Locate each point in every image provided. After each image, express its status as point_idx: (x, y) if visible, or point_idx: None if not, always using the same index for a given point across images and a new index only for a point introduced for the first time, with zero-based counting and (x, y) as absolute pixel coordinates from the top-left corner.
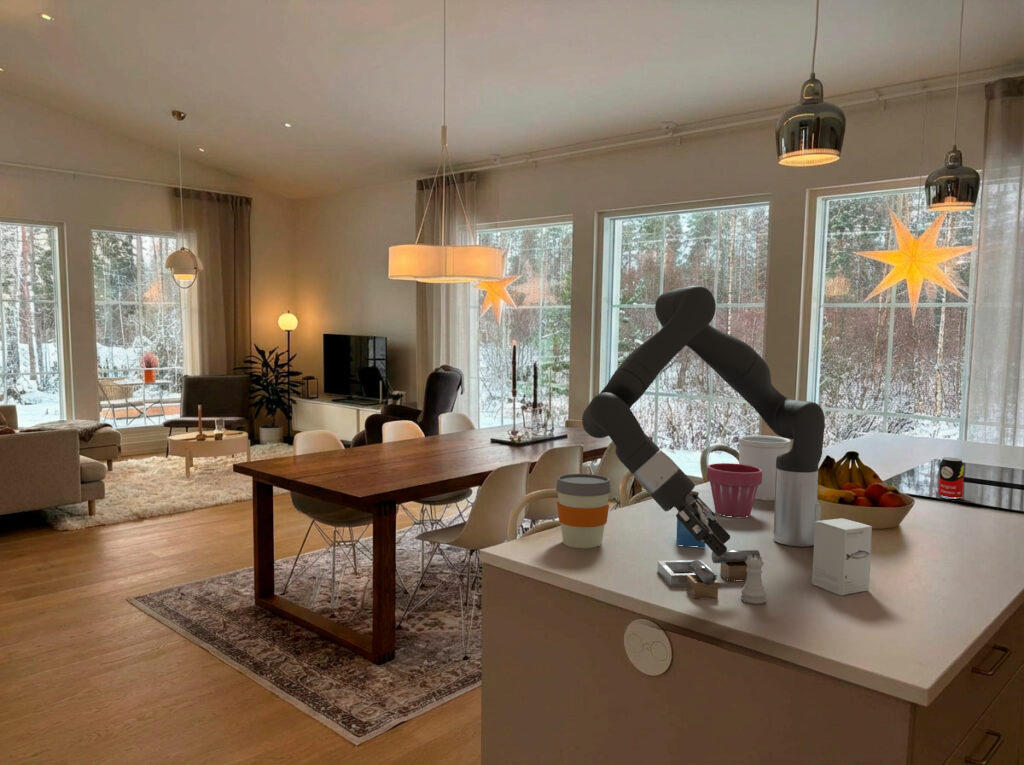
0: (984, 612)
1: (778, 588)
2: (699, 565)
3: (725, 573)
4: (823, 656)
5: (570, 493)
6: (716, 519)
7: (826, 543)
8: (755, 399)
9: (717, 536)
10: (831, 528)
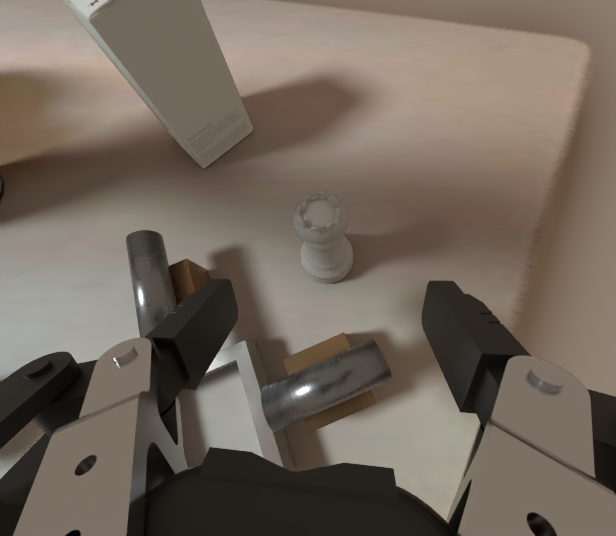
0: (268, 6)
1: (239, 219)
2: (319, 398)
3: None
4: (565, 143)
5: None
6: (130, 344)
7: (172, 59)
8: None
9: (219, 336)
10: None
